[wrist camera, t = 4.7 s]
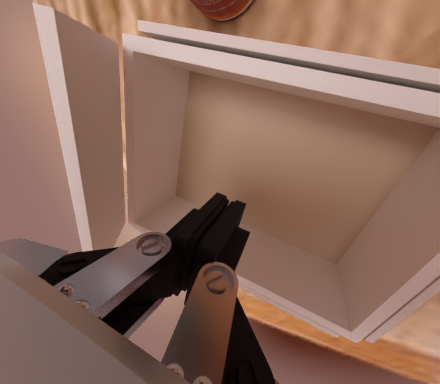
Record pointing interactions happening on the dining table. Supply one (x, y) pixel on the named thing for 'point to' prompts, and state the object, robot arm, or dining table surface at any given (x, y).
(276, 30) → the dining table surface
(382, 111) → the carton
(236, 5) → the pill bottle
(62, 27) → the end flap
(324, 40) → the dining table surface
